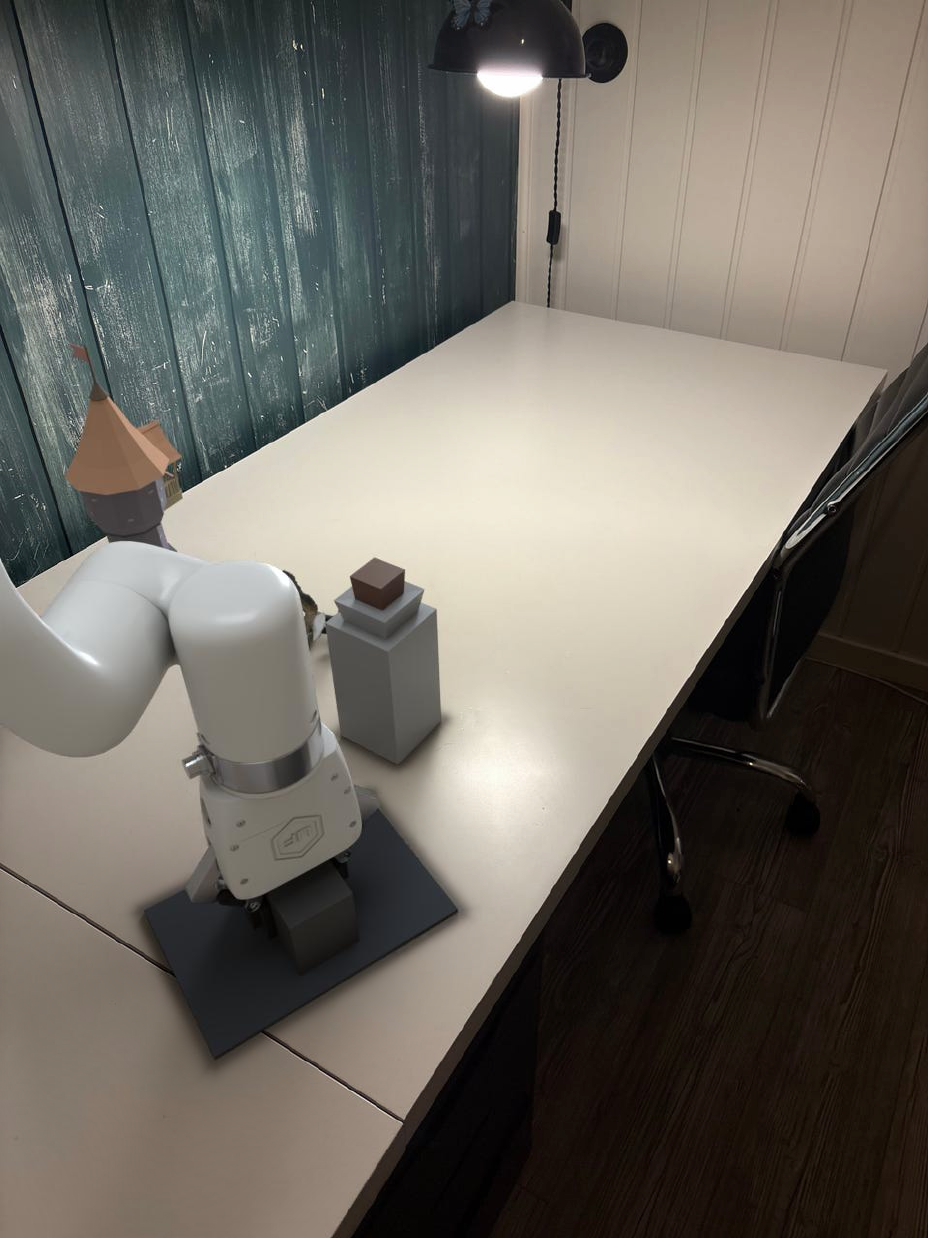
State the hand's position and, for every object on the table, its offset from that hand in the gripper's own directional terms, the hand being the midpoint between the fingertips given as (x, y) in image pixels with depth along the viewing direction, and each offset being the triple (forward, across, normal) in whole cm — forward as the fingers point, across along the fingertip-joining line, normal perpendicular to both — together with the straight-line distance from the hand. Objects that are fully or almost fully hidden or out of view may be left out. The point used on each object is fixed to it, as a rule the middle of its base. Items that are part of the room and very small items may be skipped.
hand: (299, 903), depth 70 cm
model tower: (+1, +5, +45) cm, 45 cm away
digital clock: (+1, 0, 0) cm, 1 cm away
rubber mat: (+1, 0, 0) cm, 1 cm away
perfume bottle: (+1, +16, +13) cm, 21 cm away
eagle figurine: (+1, +16, +30) cm, 34 cm away
